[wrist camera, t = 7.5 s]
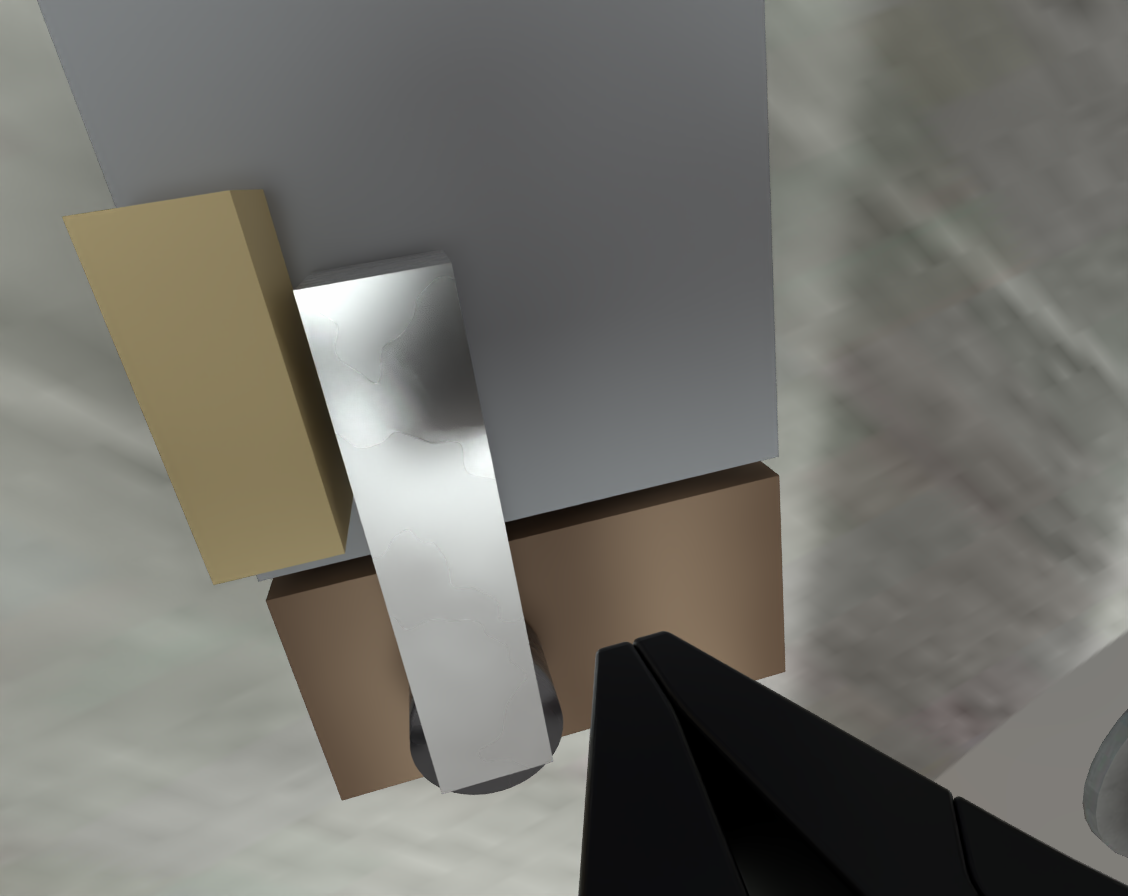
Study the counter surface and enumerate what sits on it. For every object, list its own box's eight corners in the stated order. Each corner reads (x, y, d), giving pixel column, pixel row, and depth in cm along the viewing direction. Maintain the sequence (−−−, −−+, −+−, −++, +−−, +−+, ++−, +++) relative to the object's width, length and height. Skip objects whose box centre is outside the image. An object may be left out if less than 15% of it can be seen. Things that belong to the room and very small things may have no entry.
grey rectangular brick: (287, 501, 18) (231, 658, 12) (113, -3, 14) (-110, -148, 8) (709, 407, 20) (843, 502, 14) (675, -68, 16) (849, -228, 10)
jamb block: (351, 692, 21) (342, 800, 17) (292, 518, 18) (265, 600, 15) (722, 592, 22) (785, 671, 19) (710, 422, 20) (779, 475, 17)
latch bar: (553, 701, 17) (575, 776, 15) (425, 736, 17) (429, 819, 15) (463, 246, 13) (476, 258, 11) (289, 276, 12) (265, 295, 10)
